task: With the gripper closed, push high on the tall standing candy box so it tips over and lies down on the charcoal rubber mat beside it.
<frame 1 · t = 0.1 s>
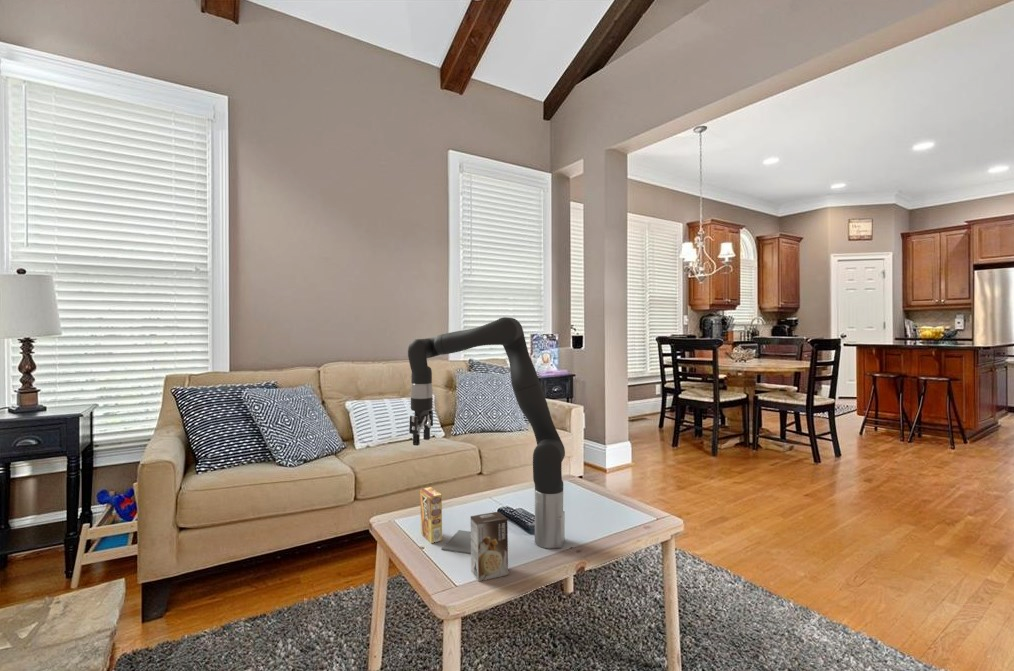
hand: (421, 442, 167), 29 cm above the table, tool pointing down, fingers open, 8 cm apart
mat: (472, 543, 154), on the table
candy box: (431, 538, 158), on the table
coffee box: (489, 574, 135), on the table
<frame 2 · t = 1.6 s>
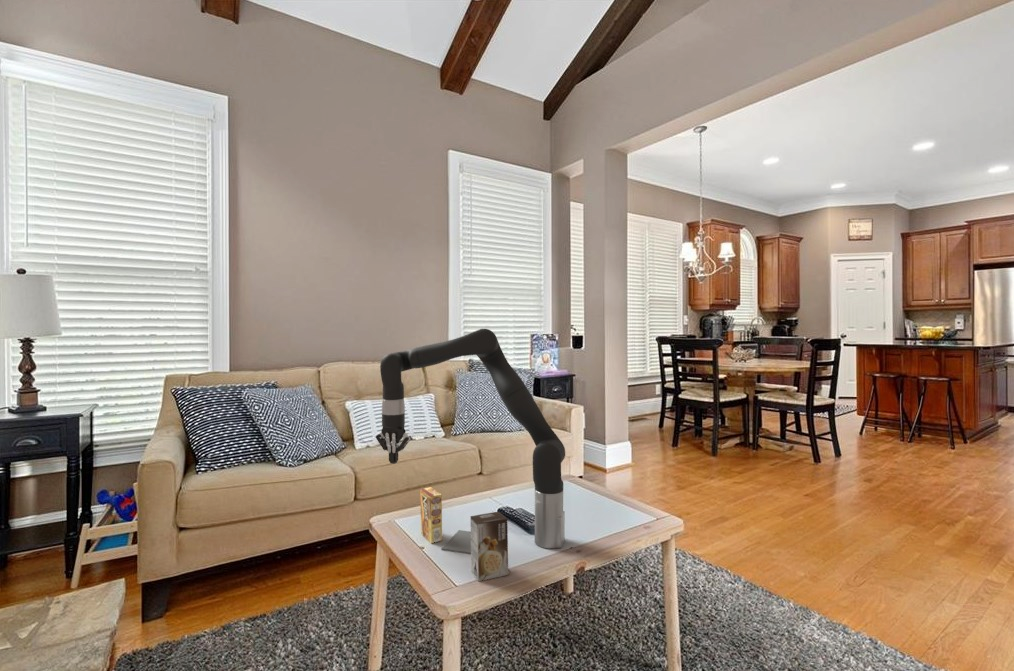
hand: (393, 463, 162), 24 cm above the table, tool pointing down, fingers closed
nothing on the table moved.
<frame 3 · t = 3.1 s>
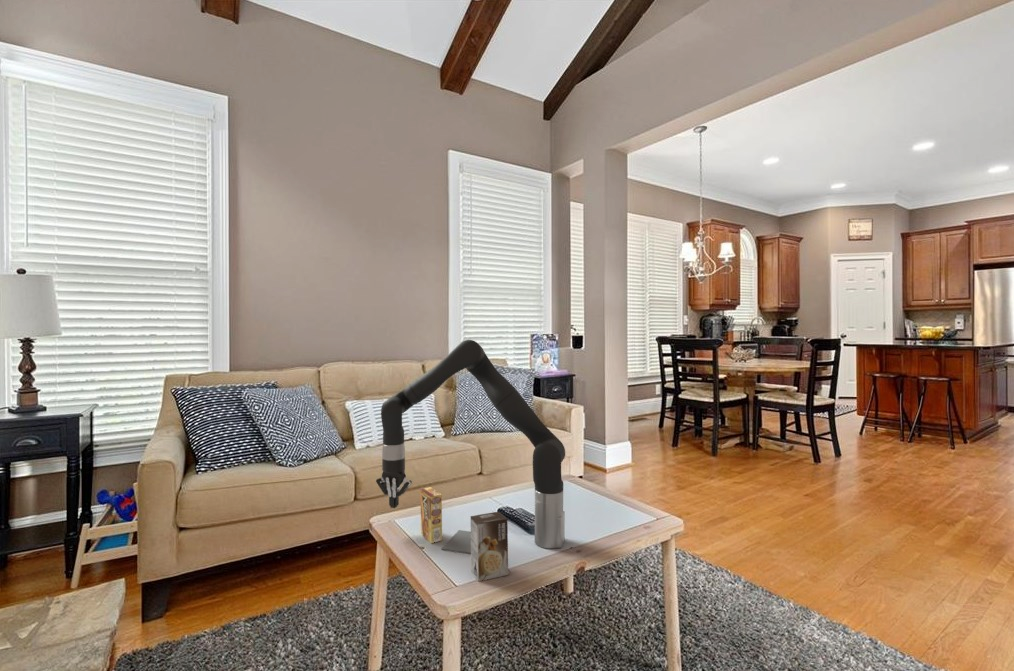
hand: (393, 507, 162), 8 cm above the table, tool pointing down, fingers closed
nothing on the table moved.
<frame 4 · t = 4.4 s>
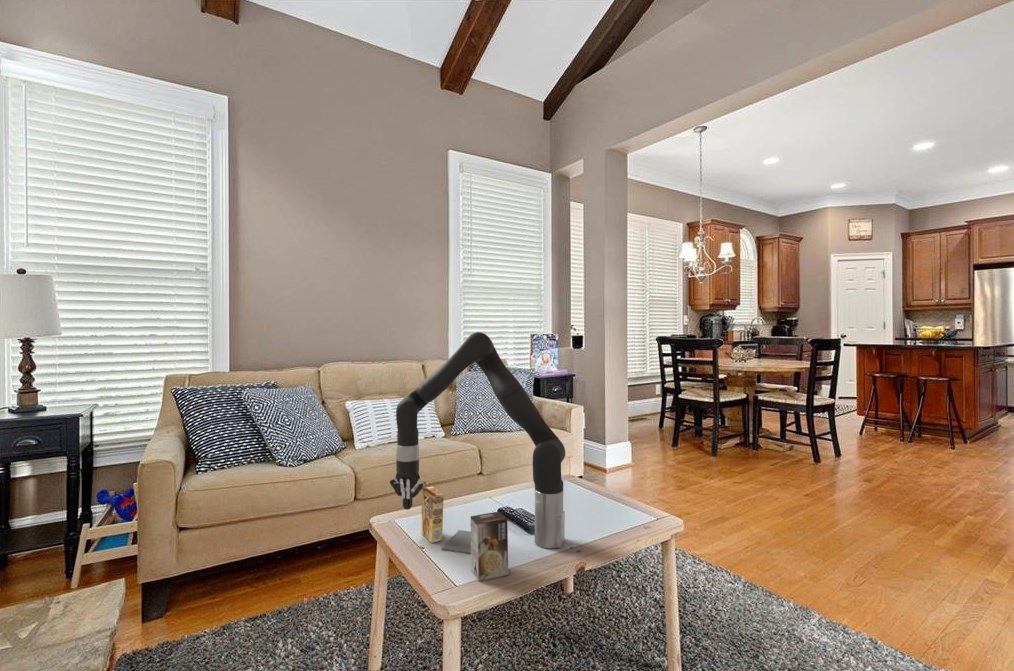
hand: (407, 508, 161), 9 cm above the table, tool pointing down, fingers closed
nothing on the table moved.
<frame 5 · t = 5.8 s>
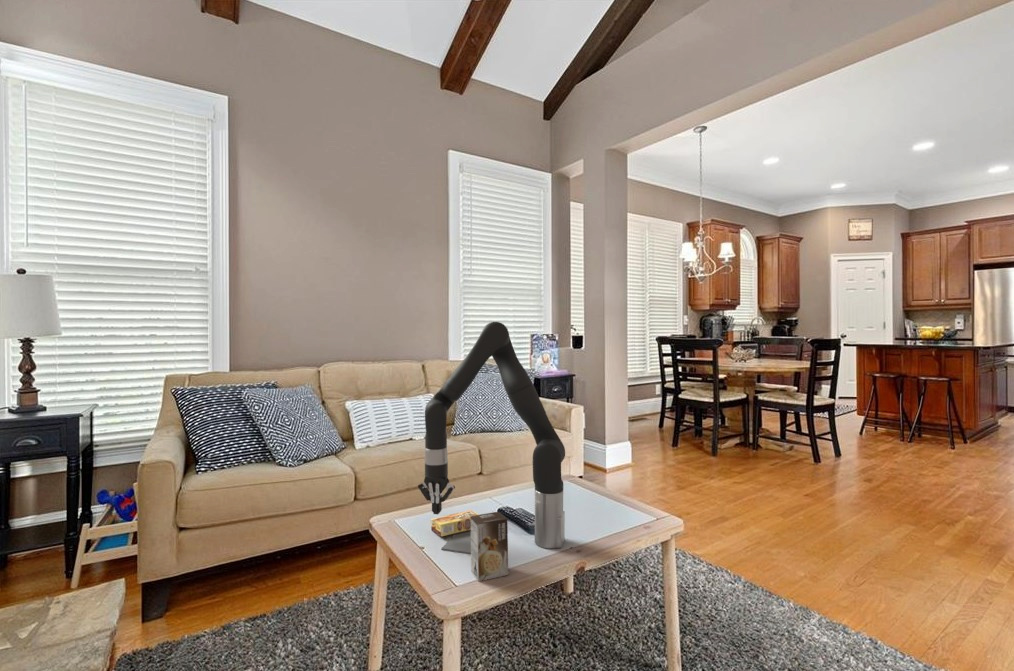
hand: (436, 513, 158), 8 cm above the table, tool pointing down, fingers closed
candy box: (435, 527, 160), point 3 cm above the table, touching mat
everything else where it was.
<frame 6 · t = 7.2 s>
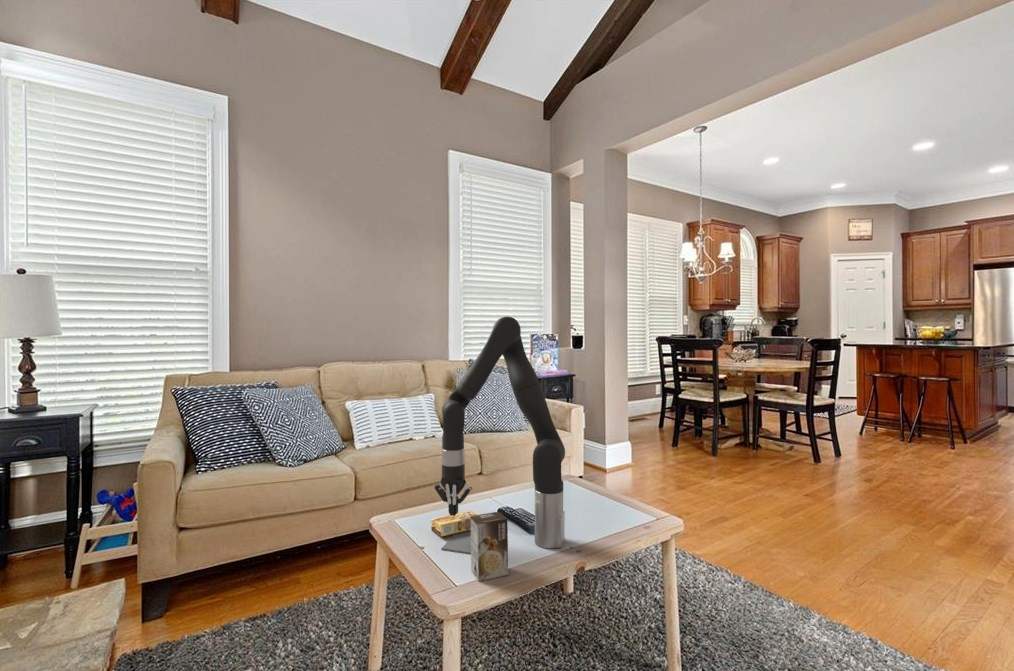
hand: (453, 514, 156), 8 cm above the table, tool pointing down, fingers closed
nothing on the table moved.
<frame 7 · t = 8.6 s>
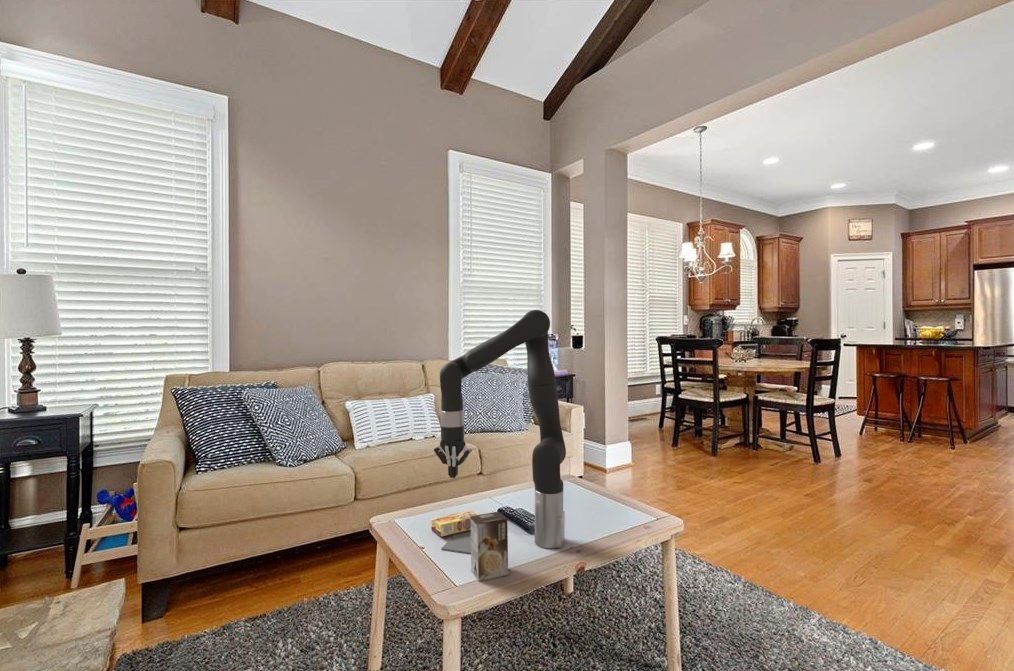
hand: (453, 477, 155), 21 cm above the table, tool pointing down, fingers closed
nothing on the table moved.
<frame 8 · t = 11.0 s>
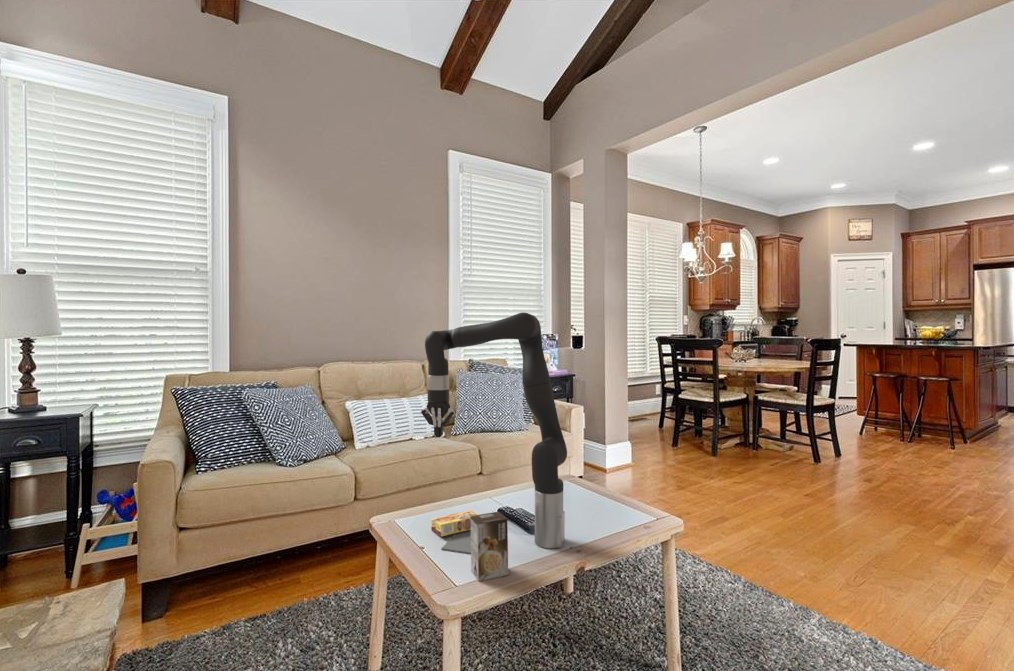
hand: (438, 437, 168), 31 cm above the table, tool pointing down, fingers closed
nothing on the table moved.
at the end: candy box tilted 91°; candy box touching mat, table; the gripper is holding nothing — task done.
